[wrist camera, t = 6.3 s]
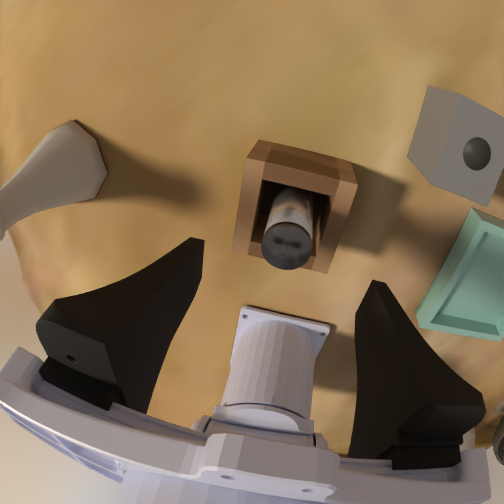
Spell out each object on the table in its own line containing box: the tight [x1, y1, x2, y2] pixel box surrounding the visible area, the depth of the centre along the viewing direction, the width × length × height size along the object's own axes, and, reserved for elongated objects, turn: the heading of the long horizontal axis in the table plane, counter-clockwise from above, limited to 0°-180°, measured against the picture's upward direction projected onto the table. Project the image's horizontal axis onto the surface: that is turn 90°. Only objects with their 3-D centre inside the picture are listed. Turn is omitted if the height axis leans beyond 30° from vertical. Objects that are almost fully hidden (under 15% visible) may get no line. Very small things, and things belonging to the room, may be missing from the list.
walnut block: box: [232, 140, 358, 273], centre depth 19 cm, size 6×6×4 cm
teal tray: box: [415, 208, 504, 341], centre depth 21 cm, size 10×10×2 cm
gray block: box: [407, 85, 504, 207], centre depth 14 cm, size 5×4×5 cm
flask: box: [0, 120, 107, 241], centre depth 19 cm, size 7×7×10 cm
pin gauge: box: [261, 183, 313, 270], centre depth 18 cm, size 2×2×7 cm
